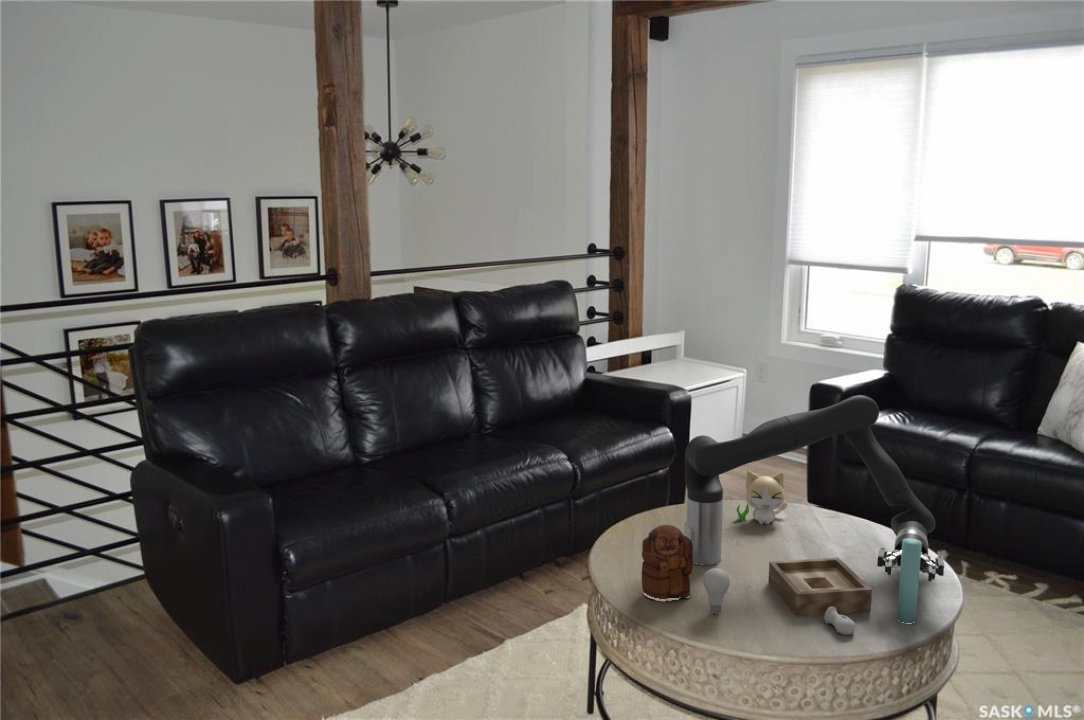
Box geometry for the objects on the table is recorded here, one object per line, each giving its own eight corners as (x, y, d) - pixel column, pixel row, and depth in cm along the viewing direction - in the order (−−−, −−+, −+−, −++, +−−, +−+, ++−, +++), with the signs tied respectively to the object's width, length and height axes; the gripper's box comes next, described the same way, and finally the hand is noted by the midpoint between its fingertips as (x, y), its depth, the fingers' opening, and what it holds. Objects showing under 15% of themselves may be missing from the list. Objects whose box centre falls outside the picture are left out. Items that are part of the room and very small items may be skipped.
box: (796, 616, 205) (797, 594, 204) (768, 582, 222) (769, 561, 221) (870, 611, 207) (872, 589, 206) (837, 578, 224) (838, 557, 223)
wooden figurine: (646, 604, 212) (647, 533, 208) (640, 592, 218) (640, 523, 214) (694, 600, 213) (696, 529, 210) (686, 588, 219) (688, 520, 216)
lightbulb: (730, 609, 209) (731, 565, 206) (727, 621, 203) (728, 576, 201) (704, 605, 211) (705, 562, 208) (700, 617, 205) (701, 572, 203)
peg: (902, 624, 200) (908, 545, 197) (893, 616, 204) (899, 538, 200) (919, 623, 201) (925, 544, 197) (910, 615, 205) (915, 537, 201)
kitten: (737, 525, 259) (738, 476, 256) (735, 513, 269) (737, 466, 266) (789, 528, 257) (792, 479, 254) (786, 515, 266) (788, 468, 263)
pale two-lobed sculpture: (857, 641, 196) (837, 637, 194) (837, 623, 204) (818, 620, 202) (863, 623, 195) (844, 620, 194) (843, 606, 203) (824, 602, 201)
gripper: (881, 528, 217) (877, 553, 203) (944, 537, 212) (945, 563, 197) (879, 557, 219) (875, 584, 204) (942, 566, 213) (942, 594, 199)
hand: (909, 574), depth 201 cm, fingers open, 8 cm apart
